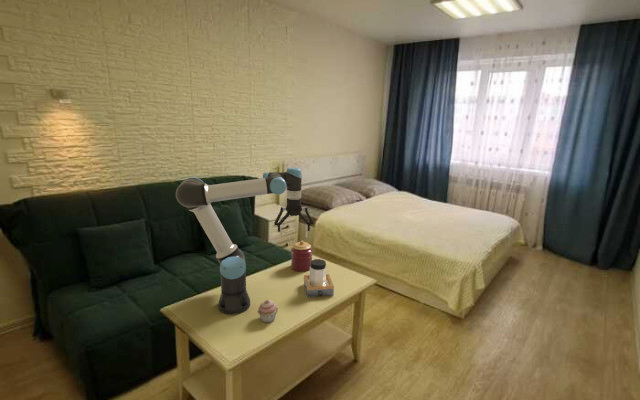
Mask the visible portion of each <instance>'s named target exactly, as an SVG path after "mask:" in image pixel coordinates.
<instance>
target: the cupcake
mask: <svg viewBox="0 0 640 400" xmlns="http://www.w3.org/2000/svg"><path fill="white" fill-rule="evenodd" d="M278 310H279V308H278V307H277V305H276V304H275V302H273V301H272V300H270V299H266V300H264V301H262V302H261V303H260V305H259V307H258V310H257V313H258V315H259V317H260V321H261V322H263V323H264V324H270V323H273V322H274V321H275V319H276V317H277V313H278V312H279V311H278Z"/></svg>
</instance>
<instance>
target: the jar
mask: <svg viewBox="0 0 640 400" xmlns="http://www.w3.org/2000/svg"><path fill="white" fill-rule="evenodd" d="M326 274H327V263H326V261H325V260H323V259H320V258H315V259H312V261H311V266H310V270H309V275H310V280H309V283H310V284H312V285H313V286H323V285H324V284H325V283H326Z"/></svg>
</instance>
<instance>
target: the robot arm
mask: <svg viewBox="0 0 640 400" xmlns="http://www.w3.org/2000/svg"><path fill="white" fill-rule="evenodd" d="M302 178H303V176H302V169H301V168H299V167H287V168H286V171H281V172H277V171H275V172H274V171H272V172H271V171H267V172H263V174H262V178H256V179H255V178H254V179H248V180H247V179H245V180H240V181H234V182H224V183H218V184H207V183H205V181H203V180H202V179H200V178H199V177H194V176H193V177H188V178H186V179H184V180H182V181H181V183H180V184H179V185H178V187H177V188H176V190H175V198H176V200H177V202H178V203H179V205H181V206H182V207H185V208H187V210H188V211H189V212H192V213H193V214H194V215H195V217H196V219H197V221H198V222H199V224H200V227H202V229H203V231H204V233H205V234H206V236H207V237H208V239H209V241H210V243H211V244H212V246H213V248H214V250H215V251H216V254H215V257H216V259H217V261H218V263H219V273H220V289H221V290H220V291H221V292H220V296H219V299H218V302H217V308H218V311H219V312H220V313H222V314H225V315H238V314H242V313H244V312H246V311H247V310H248V309H249V308H250V306H251V299H250V296H249V293H248V291H247V275H246V274H247V264H246V257H245V254H244V252H243V251H242V250H241V249H240V248H239V247H238V245H237V244H235V243H233V242H232V240H231V238H230V237H229V235H228V233H227V232H226V229H225V228H224V226H223V224H222V222H221V221H220V218H219V217H218V215H217V213H216V212H215V210H214V208H213V207H212V203H216V202H221V201H228V200H236V199H242V198H248V197H249V198H251V197H256V196H257V197H258V196H263V195H273V194H274V195H282V194H283V193H285V191H286V206H285V207H284V206H280V210H279V213H278V214H277V216H276V218H275V220H274V222H273V223H274V226H276V227H277V232H278V233H279V239H283V238H282V237H283V236H282V233H283V232H282V229H283V228H282V225H283V223H284V222H285V221H286V220H287V219H288V218H289V216H290V217H298V216H299V217H300V218H301V219H302V220H303V222H305V238H309V237H308V236H309V234H308V233H309V232H310V231H311V229H310V228H311V225H314V222H313V220H312V218H311V215H310V213H309V211H308V207H307V206H302ZM285 211H286V213H285V214H284V216H282V215H283V213H284V212H285ZM302 211H303V212H305V215H306V216H307V218H308V219H307V218H306V217H305V216H304V215H303V213H302ZM281 217H282V218H281ZM280 218H281V219H280Z"/></svg>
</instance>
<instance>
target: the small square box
mask: <svg viewBox="0 0 640 400" xmlns="http://www.w3.org/2000/svg"><path fill="white" fill-rule="evenodd" d="M309 280H310V274H306V275H304V274H303V286H304V291H305V295H306V298H318V297H319V298H320V297H322V298H323V297H334V295H335V294H334V292H335V288H334V287H335V286H334V283H333V281H332V278H331V276H330V274H329V273H326V283H325V284H324V285H323V286H313V285H312V284H310V283H309Z"/></svg>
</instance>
